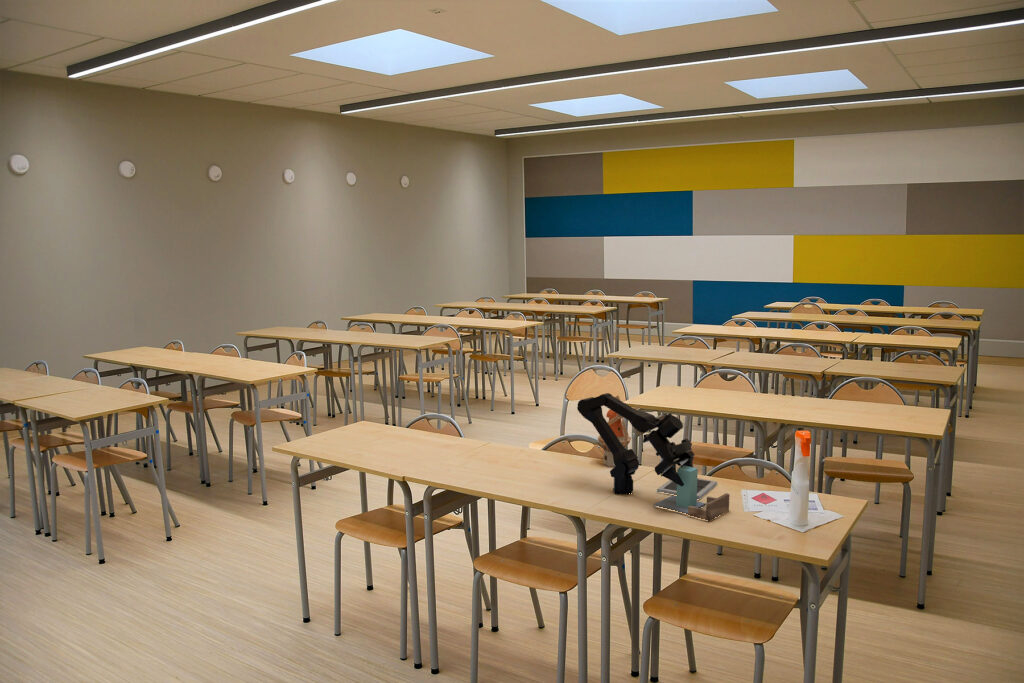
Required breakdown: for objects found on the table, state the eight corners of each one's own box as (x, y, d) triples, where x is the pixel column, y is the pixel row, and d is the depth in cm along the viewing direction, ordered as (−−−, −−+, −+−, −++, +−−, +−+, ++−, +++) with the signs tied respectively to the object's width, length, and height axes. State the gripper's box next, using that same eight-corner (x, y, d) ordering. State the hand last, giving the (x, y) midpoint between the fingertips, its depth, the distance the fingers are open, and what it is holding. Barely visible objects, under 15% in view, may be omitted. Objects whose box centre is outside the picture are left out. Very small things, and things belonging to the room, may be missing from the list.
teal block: (676, 505, 267) (677, 468, 266) (683, 501, 271) (684, 465, 269) (689, 508, 264) (690, 471, 262) (696, 505, 268) (697, 468, 266)
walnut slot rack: (687, 516, 259) (688, 499, 258) (708, 505, 270) (708, 489, 269) (709, 522, 254) (709, 504, 253) (728, 511, 265) (729, 494, 264)
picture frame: (676, 479, 301) (657, 494, 284) (677, 472, 301) (657, 486, 284) (716, 486, 293) (698, 502, 276) (717, 479, 293) (699, 494, 275)
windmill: (615, 473, 308) (617, 398, 304) (585, 466, 317) (586, 394, 313) (638, 463, 321) (640, 392, 317) (608, 457, 330) (610, 388, 326)
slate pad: (653, 507, 268) (653, 504, 268) (672, 497, 278) (672, 495, 278) (687, 515, 260) (687, 512, 260) (705, 506, 270) (705, 503, 269)
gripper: (663, 437, 260) (692, 475, 254) (690, 427, 274) (718, 464, 268) (642, 455, 266) (670, 493, 260) (670, 445, 280) (696, 481, 274)
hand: (689, 482), depth 266 cm, fingers open, 9 cm apart
